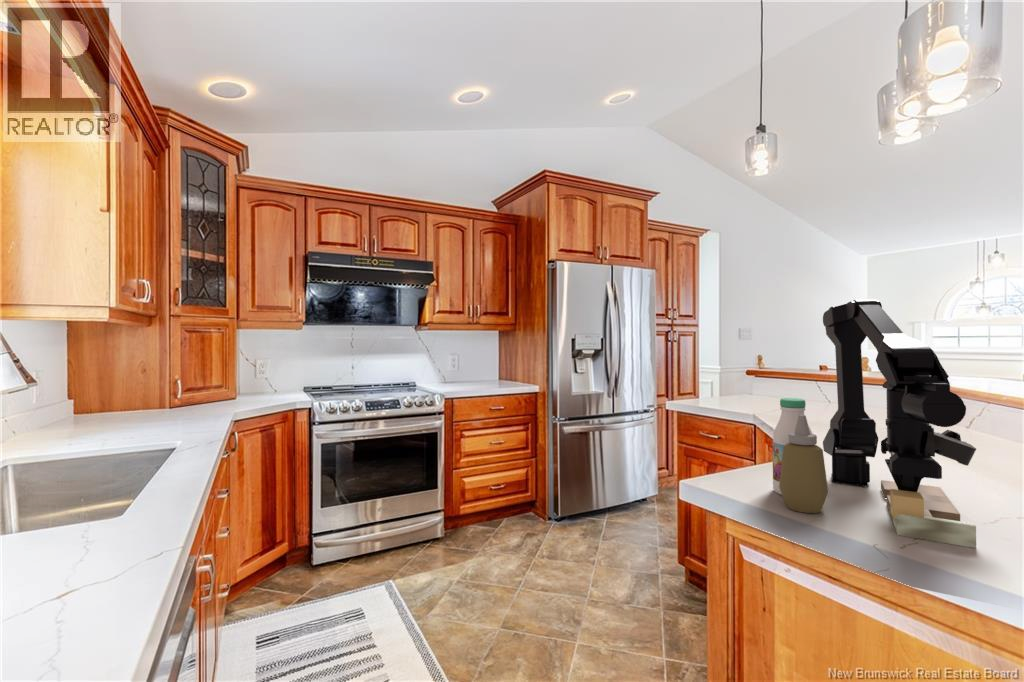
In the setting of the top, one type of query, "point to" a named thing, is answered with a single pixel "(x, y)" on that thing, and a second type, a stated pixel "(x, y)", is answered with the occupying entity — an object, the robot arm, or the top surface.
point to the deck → (933, 518)
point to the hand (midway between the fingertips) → (908, 504)
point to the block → (906, 503)
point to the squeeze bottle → (803, 471)
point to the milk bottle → (785, 433)
